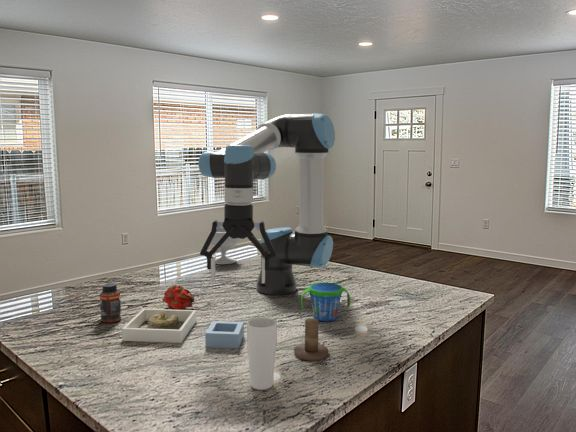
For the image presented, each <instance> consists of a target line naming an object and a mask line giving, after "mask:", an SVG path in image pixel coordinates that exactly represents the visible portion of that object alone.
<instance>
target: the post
mask: <svg viewBox="0 0 576 432" xmlns="http://www.w3.org/2000/svg"><path fill="white" fill-rule="evenodd" d="M304 321H305V322H304V343H300V344H298V345H296V346H295V347H294V351H293V354H294V356H295V357H296V358H297V359H300V360H302V361H307V362H319V361H322V360H325V359H327V358H328V357H329V348H328V347H327V346H326V345H323V344H320V343H319V327H320V326H319V325H320V323H319V322H320V320H317V319H316V318H311V317H310V318H307V319H305V320H304Z"/></svg>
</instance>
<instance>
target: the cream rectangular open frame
mask: <svg viewBox="0 0 576 432" xmlns="http://www.w3.org/2000/svg"><path fill="white" fill-rule="evenodd" d="M161 312H164V314H165V316H168V317H170V316H172V315H177V317H178V318H179V323H180V322H181V323H183V324H181V327H180V328H179V329H178V330H176V329H147V328H148V327H147V328H145V327H143V328H142V327H140V326H141V325H142V324H144V323H145V322H148V319H149V317H150V316H151V317H152V316H153V315H155V314H160V315H161V314H162V313H161ZM196 323H197V309H195V310H194V309H193V310H192V309H183V310H176V309H171V310H170V309H169V308H168V309H164V308H161V309H160V308H142V309H141V310H140V311H139V312H138V313H137V314H136V315H134V316H133V318H131V319H130V321H129V322H127V323H126V324H125V325H124V326H123V327H122V328H121V335H122V337H121V341H123V342H141V343H142V342H144V343H145V342H147V343H174V344H175V343H176V344H182V343H183V342H184V340H185V338H186V337H187V336H188V335H189V333H190V331H191V330H192V328H193V327H194V326H195V324H196Z"/></svg>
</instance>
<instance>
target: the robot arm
mask: <svg viewBox="0 0 576 432" xmlns="http://www.w3.org/2000/svg"><path fill="white" fill-rule="evenodd" d="M335 134H336V133H335V126H334V124H333V121H332V119H331V117H330V116H329V115H328V114H326V113H287V114H282V115H278V116H276V117H274V118H272V119H269V120H266V121H264V122H262V123H261V124H259V125H258V126H257V128H256V130H255V131H252V132H251V133H249V134H247V135H245V136H243V137H241V138H239V139H238V140H236V141H234V142H232V143H230V144H228V145H226V146H224V147H223V148H220V149H219V150H217V151H213V150H212V151H211V150H210V151H205V152H202V154H200V156H199V158H198V164H197V165H198V170H199V173H200V174H201V175H202V176H204V177H207V178H212V179H214V178H216V179H217V178H218V179H224V203H226V204H224V209H223V210H224V211H223V213H224V217H223V218H224V219H223V222H222V221H218V220H214V221H213V222H212V223H211V224H212V225H211V229H212V230H211V229H210V230H211V232H210V231H209V232H210V234H209V233H208V235H209V236H208V235H207V238H206V240H205V242H204V243H203V246H202V248H201V250H200V252H199V255H200V256H202V257H205V258H206V269H207V270H210V283H215V281H216V264H215V259H216V256H213V255H214V254H215V253H216V252H217V251H219V250H218V248H219V247H220V246H221V245H222V244H223V243H224V242H225V240H226V239H227V238H228V237H229V236H230V237H231V238H232V239H236V238H239V239H242V240H243V239H246V238H247V239H248V240H249V241H250V242H251V243H252V244H253V246H254V247H255V248H256V249H257V251H259V253H260V263H261V264H260V266H261V267H260V271H259V274H258V277H257V281H256V285H255V286H256V287H255V288H256V289H255V290H256V291H257V292H258V293H262V294H265V295H271V296H278V295H280V296H281V295H289V294H292V293H294V292H296V291H297V286H298V285H297V280H296V278H295V274H294V272H293V265H294V266H303V267H310V268H323V267H326V265H327V264H328V263H329V262H330V259H331V257H332V253H333V249H334V240H333V237H332V236H331V235H328V229H327V228H326V227H325V226H324V191H325V190H324V189H325V188H324V187H325V186H324V185H325V184H324V183H325V182H324V180H325V179H324V177H325V157H327V155H328V154H329V149H332V148H333V146H334V145H335V140H336V139H335V138H336V135H335ZM278 148H294V154H296V156H297V157H298V158H299V160H298V161H299V163H298V165H299V169H298V170H299V174H298V175H299V180H298V181H299V186H298V187H299V190H298V192H299V193H298V195H299V196H298V197H299V200H298V201H299V202H298V203H299V204H298V206H299V208H298V209H299V210H298V214H299V215H298V219H299V220H298V226H297V227H296V228H295V229H293V228H292V227H285V226H284V227H275V228H270V229H266V227H265V226H266V225H265V222H264V221H263V220H262V221H260V222H259V221H258V222H254V220H253V218H254V205H253V204H252V203H253V202H254V180H262V181H263V180H266V179H269V178H271V177H272V176H273V175H274V174H275V173H276V170H277V162H276V160H275V158H274V157H273V155H272V154H270V153H267V152H266V151H274V150H276V149H278ZM220 228H224V229H225V231H226V233H225V235H224V236H223V237H222V238H221V239H220V240H219V241H218V243H217V244H216V245H215V246H214V247H212V248H211V250H210V251H208V250H209V248H210V246H211V245H210V243H211V241H212V239H213V237H214V235H215V234H216V231H217V230H219V229H220ZM254 229H256V230H257V231H258V232H260V234H261V237H260V239H261V240H260V241H259V240H258V239H257V237H256V236H255V234H254V233H253V232H252V231H253V230H254Z"/></svg>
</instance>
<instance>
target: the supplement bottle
mask: <svg viewBox="0 0 576 432" xmlns="http://www.w3.org/2000/svg"><path fill="white" fill-rule="evenodd" d="M99 305H100V306H99V307H100V319H101V322H103V323H106V324H107V323H109V324H111V323H116V322H118V321H120V320H122V300H121V291H120V290H119V289H118V287H117V283H116V282H107V283H104V284H103V285H102V291H101V292H100V293H99Z"/></svg>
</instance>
